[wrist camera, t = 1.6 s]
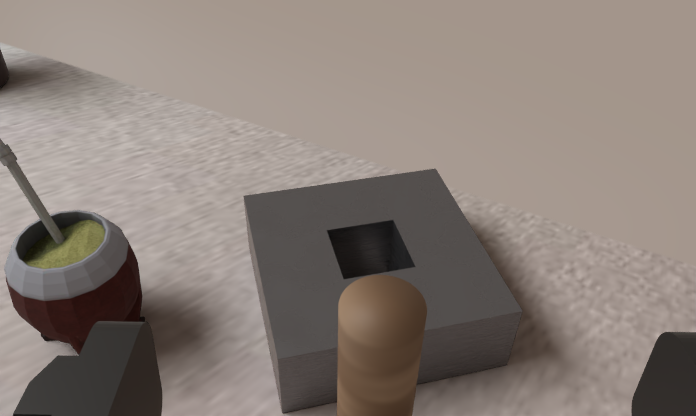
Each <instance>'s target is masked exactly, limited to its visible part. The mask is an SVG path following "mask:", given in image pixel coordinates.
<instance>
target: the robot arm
mask: <svg viewBox="0 0 696 416" xmlns="http://www.w3.org/2000/svg"><path fill="white" fill-rule="evenodd" d="M161 412H162V387H161V381H160V376H159V370H158V365H157V359H156V353H155V348H154V342H153V336H152V331H151V327H150V325H149V323H147V322H115V321H98V322H96V323H95V324H94V325H93V327H92V328H91V330H90V332H89V335H88V337H87V339H86V341H85V343H84V346H83V348H82V350H81V352H80V354H79V356H57V357H56V358H55V359H54V360H53V361H52V362H51V363H50V364H48V365H47V366H46V367H45V368H44V369H43V370H42V371H41V372H40V373H39V374H38V375H37V376H36V377H35V378H34V379H33V380H32V381H31V382H30V383H29V384H28V386H27V388H26V390H25V392H24V394H23V396H22V398H21V400H20V402H19V404H18V406H17V407H16V409H15V411H14V413H13V416H161ZM632 416H696V332H665V333H663V334H661V335H660V336H659V337H658V339H657V341H656V343H655V346H654V348H653V350H652V353H651V355H650V358H649V360H648V362H647V365H646V367H645V369H644V372H643V374H642V377H641V379H640V381H639V384H638V386H637V389H636V391H635V393H634V396H633V400H632Z"/></svg>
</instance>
